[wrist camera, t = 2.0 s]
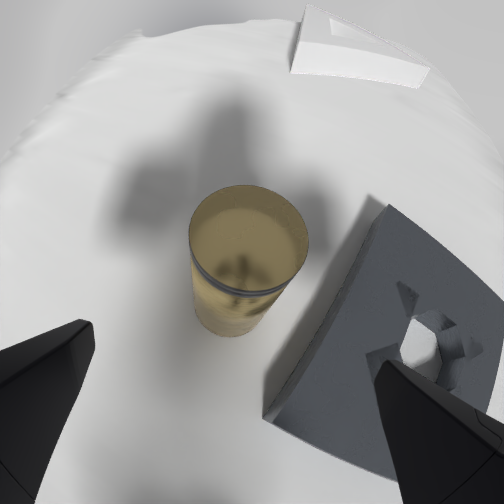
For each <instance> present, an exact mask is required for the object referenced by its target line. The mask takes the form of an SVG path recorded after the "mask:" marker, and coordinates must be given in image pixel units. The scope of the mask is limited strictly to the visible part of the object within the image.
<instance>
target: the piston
mask: <svg viewBox="0 0 504 504" xmlns="http://www.w3.org/2000/svg"><path fill="white" fill-rule="evenodd" d="M308 243H309V241H308V233H307V229H306V226H305V223H304V221H303V219H302V217H301V215H300V214H299V212H298V211H297V210H296V209H295V207H294V206H293V205H292V204H291V203H290V202H288V201H287V200H286V199H285V198H283V197H282V196H280V195H278V194H277V193H275V192H273V191H270V190H268V189H265V188H262V187H257V186H250V185H238V186H231V187H227V188H224V189H221V190H218V191H216V192H214V193H213V194H211V195H210V196H208V197H207V198H206V199H205V200H203V201H202V203H201V204H200V205H199V206H198V207H197V209H196V210H195V212H194V214H193V216H192V218H191V222H190V226H189V248H190V256H191V270H192V282H193V294H194V305H195V311H196V314H197V317H198V319H199V320H200V322H201V323H202V324H203V326H204V327H205V328H207V329H208V330H209V331H211V332H212V333H214V334H216V335H219V336H223V337H237V336H241V335H244V334H246V333H248V332H249V331H251V330H252V329H253V328H254V327H255V326H256V325H257V324H258V323H259V321H260V320H261V319H262V318H263V316H264V315H265V314H266V312H267V311H268V310H269V309H270V307H271V306H272V305H273V303H274V302H275V301H276V300H277V298H278V297H279V296H280V294H281V293H282V292H283V290H284V289H285V288H286V286H287V285H288V284H289V282H290V281H291V280H292V279H293V278H294V277H295V275H296V274H297V273H298V271H299V270H300V269H301V267H302V265H303V263H304V261H305V259H306V256H307V252H308Z"/></svg>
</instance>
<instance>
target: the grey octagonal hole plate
mask: <svg viewBox="0 0 504 504" xmlns="http://www.w3.org/2000/svg"><path fill="white" fill-rule="evenodd" d="M414 318H415V319H416V320H418V321H419V322H420V323H422V324H423V325H424V326H426V327H427V328H428V329H430V330H431V331H433V332H434V333H435V334H436V337H437V341H438V345H439V349H440V353H441V357H442V361H443V364H442V367H441V370H440V373H439V376H438V379H437V382H436V384H437V385H438V386H440V387H442V388H443V389H445V390H446V391H448V392H450V393H451V394H453V395H455V396H456V397H458V398H460V399H461V400H463V401H465V402H466V403H468V404H470V405H471V406H473V407H474V408H476V409H478V410H480V411H481V412H483V413H485V414H486V412H487V409H488V405H489V402H490V399H491V395H492V391H493V388H494V384H495V380H496V375H497V371H498V367H499V362H500V357H501V352H502V346H503V340H504V301H503V300H502V299H501V298H500V297H499V296H498V295H497V294H496V293H495V292H494V291H493V290H492V289H490V288H489V287H488V286H487V285H486V284H485V283H484V282H483V281H482V280H481V279H480V278H479V277H478V276H477V275H476V274H475V273H474V272H472V271H471V270H470V269H469V268H468V267H467V266H466V265H465V264H464V263H462V262H461V261H460V260H459V259H458V258H457V257H456V256H454V255H453V254H452V253H451V252H450V251H449V250H447V249H446V248H445V247H444V246H443V245H442V244H440V243H439V242H438V241H437V240H435V239H434V238H433V237H432V236H431V235H429V234H428V233H427V232H426V231H424V230H423V229H422V228H420V227H419V226H418V225H417V224H415V223H414V222H413V221H411V220H410V219H409V218H407V217H406V216H405V215H404V214H402V213H401V212H399V211H398V210H397V209H395V208H394V207H393V206H391V205H390V204H388V205H387V206H386V208H385V209H384V210H383V211H382V212H381V213H380V215H379V216H378V217H377V218H376V219H375V220H374V222H373V224H372V226H371V228H370V230H369V233H368V235H367V237H366V239H365V241H364V243H363V245H362V247H361V249H360V252H359V254H358V256H357V258H356V260H355V262H354V264H353V266H352V268H351V270H350V272H349V274H348V276H347V278H346V280H345V282H344V284H343V285H342V287H341V289H340V291H339V293H338V295H337V297H336V299H335V301H334V302H333V304H332V306H331V308H330V310H329V312H328V313H327V315H326V317H325V319H324V321H323V322H322V324H321V326H320V328H319V329H318V331H317V333H316V335H315V336H314V338H313V340H312V341H311V343H310V345H309V347H308V348H307V350H306V352H305V353H304V355H303V357H302V358H301V360H300V361H299V363H298V365H297V366H296V368H295V370H294V371H293V373H292V374H291V376H290V378H289V379H288V381H287V382H286V384H285V385H284V387H283V388H282V390H281V391H280V393H279V395H278V396H277V398H276V399H275V401H274V402H273V404H272V405H271V407H270V408H269V409H268V411H267V412H266V414H265V415H264V417H263V418H262V419H264V420H265V421H267V422H269V423H271V424H272V425H274V426H276V427H278V428H279V429H281V430H283V431H285V432H287V433H288V434H290V435H292V436H294V437H296V438H298V439H300V440H302V441H303V442H305V443H307V444H309V445H311V446H313V447H315V448H317V449H319V450H321V451H323V452H325V453H328V454H330V455H332V456H334V457H336V458H338V459H340V460H343V461H345V462H347V463H349V464H352V465H354V466H356V467H359V468H361V469H364V470H366V471H368V472H371V473H373V474H376V475H379V476H381V477H384V478H386V479H389V480H392V481H395V482H398V480H397V476H396V473H395V469H394V465H393V461H392V458H391V454H390V451H389V447H388V444H387V440H386V437H385V433H384V430H383V427H382V423H381V418H380V413H379V408H378V403H377V398H376V393H375V388H374V380H375V377H376V375H377V373H378V371H379V369H380V367H381V365H382V363H383V362H384V361H385V360H393V359H395V360H398V361H399V362H401V363H403V361H402V357H401V353H400V347H401V345H402V342H403V340H404V337H405V334H406V332H407V329H408V326H409V324H410V321H411V319H414Z"/></svg>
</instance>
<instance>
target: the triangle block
mask: <svg viewBox="0 0 504 504" xmlns="http://www.w3.org/2000/svg"><path fill="white" fill-rule="evenodd" d="M429 70H430V68H429V67H427V66H426V65H424V64H423V63H421V62H420V61H418V60H417V59H415V58H414V57H412V56H411V55H409V54H408V53H406V52H405V51H403V50H401V49H400V48H398V47H396V46H395V45H393V44H391V43H390V42H388V41H386V40H384V39H383V38H381V37H379V36H377V35H375V34H373V33H371V32H369V31H368V30H366V29H364V28H362V27H359V26H358V25H356V24H354V23H352V22H349V21H347V20H345V19H343V18H341V17H338V16H336V15H334V14H332V13H329V12H327V11H325V10H322V9H320V8H317V7H315V6H312V5H309V4H306V8H305V11H304V15H303V18H302V22H301V26H300V30H299V35H298V39H297V44H296V48H295V53H294V58H293V62H292V67H291V71H290V73H296V74H316V75H330V76H341V77H350V78H359V79H366V80H373V81H380V82H386V83H391V84H397V85H402V86H407V87H412V88H417V89H418V88H419V87H420V85H421V83H422V82H423V80H424V78H425V76H426V75H427V73H428V71H429Z"/></svg>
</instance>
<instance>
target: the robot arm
mask: <svg viewBox="0 0 504 504" xmlns="http://www.w3.org/2000/svg"><path fill="white" fill-rule="evenodd" d="M94 351H95V339H94V330H93V325H92V323H91V322H90V321H86V320H83V319H78V320H75V321H73V322H70V323H68V324H65V325H63V326H60V327H58V328H55V329H53V330H50V331H48V332H45V333H43V334H40V335H38V336H36V337H33V338H31V339H28V340H26V341H23V342H21V343H18V344H16V345H13V346H11V347H8V348H6V349H3V350H1V351H0V504H34V503H35V500H36V497H37V494H38V491H39V488H40V485H41V482H42V480H43V477H44V474H45V472H46V469H47V466H48V464H49V461H50V459H51V456H52V454H53V451H54V449H55V446H56V444H57V441H58V439H59V437H60V434H61V432H62V430H63V427H64V425H65V423H66V421H67V418H68V416H69V414H70V412H71V410H72V407H73V405H74V403H75V401H76V399H77V397H78V395H79V392H80V390H81V387H82V384H83V382H84V379H85V376H86V373H87V370H88V367H89V365H90V362H91V359H92V356H93V354H94ZM374 388H375V393H376V398H377V403H378V408H379V413H380V418H381V423H382V427H383V430H384V433H385V437H386V440H387V444H388V447H389V451H390V454H391V458H392V461H393V465H394V469H395V473H396V476H397V480H398V484H399V488H400V492H401V496H402V501H403V504H504V424H503V423H501V422H499V421H497V420H495V419H493V418H492V417H490V416H488V415H486V414H485V413H483V412H481V411H480V410H478V409H476V408H474V407H473V406H471V405H470V404H468V403H466V402H465V401H463V400H461V399H460V398H458V397H456V396H455V395H453V394H451V393H450V392H448V391H446V390H445V389H443V388H442V387H440V386H438V385H437V384H435V383H433V382H432V381H430V380H429V379H427V378H425V377H424V376H422V375H420V374H419V373H417V372H416V371H414V370H412V369H411V368H409V367H407V366H406V365H404V364H403V363H401V362H399V361H398V360H395V359H393V360H385V361H384V362H383V363H382V365H381V367H380V369H379V371H378V373H377V375H376V377H375V380H374Z"/></svg>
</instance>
